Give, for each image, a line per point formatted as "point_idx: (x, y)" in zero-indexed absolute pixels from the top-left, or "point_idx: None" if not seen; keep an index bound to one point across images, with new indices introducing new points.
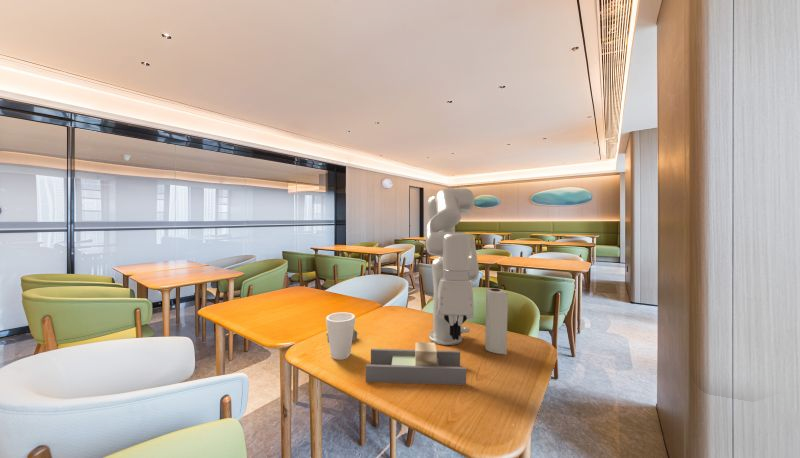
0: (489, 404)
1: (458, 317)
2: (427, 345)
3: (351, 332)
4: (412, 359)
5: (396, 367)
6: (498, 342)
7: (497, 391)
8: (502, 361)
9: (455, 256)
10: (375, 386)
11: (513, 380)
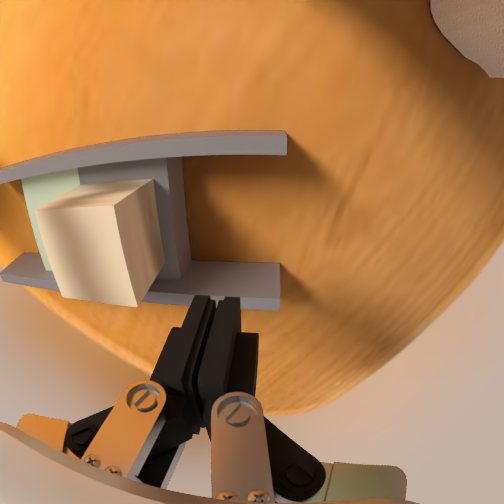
0: (318, 345)
1: (229, 461)
2: (85, 243)
3: None
4: None
5: (52, 289)
6: (498, 56)
7: (366, 300)
8: (465, 117)
9: None
10: None
11: (441, 245)
